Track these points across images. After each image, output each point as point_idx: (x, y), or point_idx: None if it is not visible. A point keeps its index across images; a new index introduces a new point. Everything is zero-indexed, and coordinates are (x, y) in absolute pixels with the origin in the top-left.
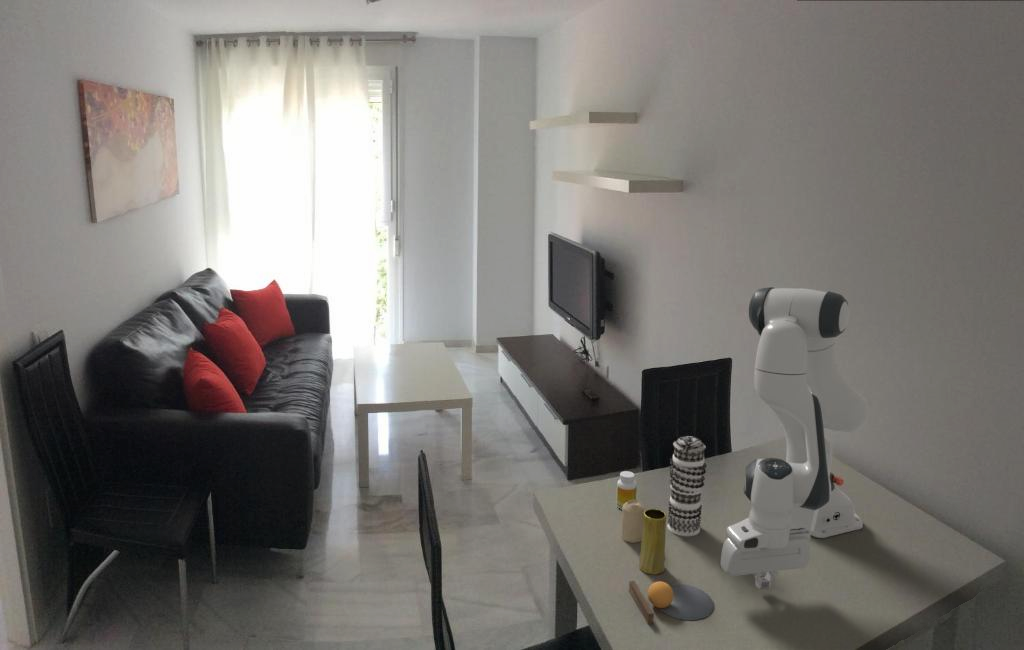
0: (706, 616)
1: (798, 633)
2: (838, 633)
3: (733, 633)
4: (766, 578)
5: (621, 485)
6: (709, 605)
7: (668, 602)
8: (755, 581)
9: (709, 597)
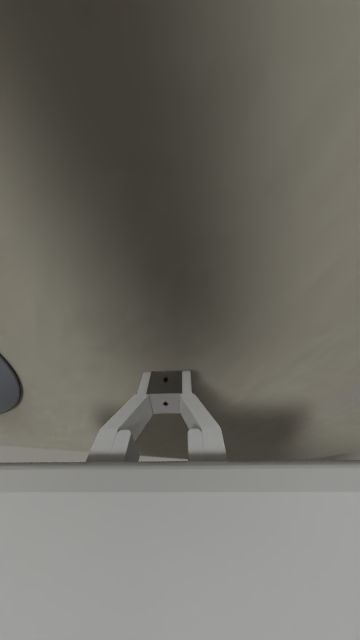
0: (5, 410)
1: (180, 449)
2: (247, 454)
3: (64, 440)
4: (179, 403)
5: None
6: (5, 388)
7: None
8: (141, 380)
9: (1, 363)
